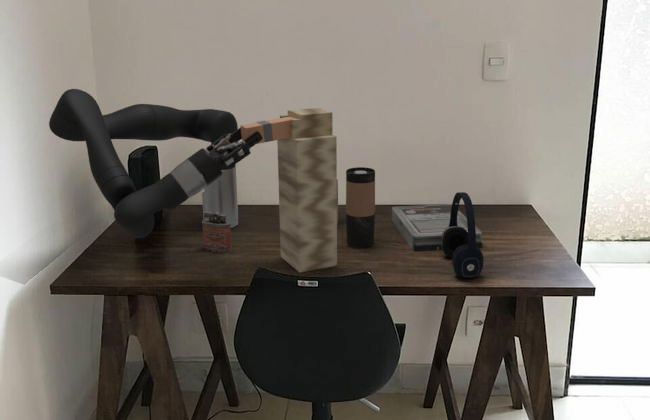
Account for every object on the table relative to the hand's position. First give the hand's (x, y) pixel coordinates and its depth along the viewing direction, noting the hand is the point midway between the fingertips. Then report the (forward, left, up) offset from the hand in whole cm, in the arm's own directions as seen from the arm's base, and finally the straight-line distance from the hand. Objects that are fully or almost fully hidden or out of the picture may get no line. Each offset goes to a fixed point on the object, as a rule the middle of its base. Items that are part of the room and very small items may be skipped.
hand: (253, 131), depth 160 cm
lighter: (-19, +5, -34) cm, 39 cm away
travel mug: (+10, +29, -34) cm, 46 cm away
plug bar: (+2, +4, -2) cm, 5 cm away
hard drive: (+23, +48, -35) cm, 64 cm away
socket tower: (+6, +11, -34) cm, 36 cm away
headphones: (+39, +29, -34) cm, 60 cm away
